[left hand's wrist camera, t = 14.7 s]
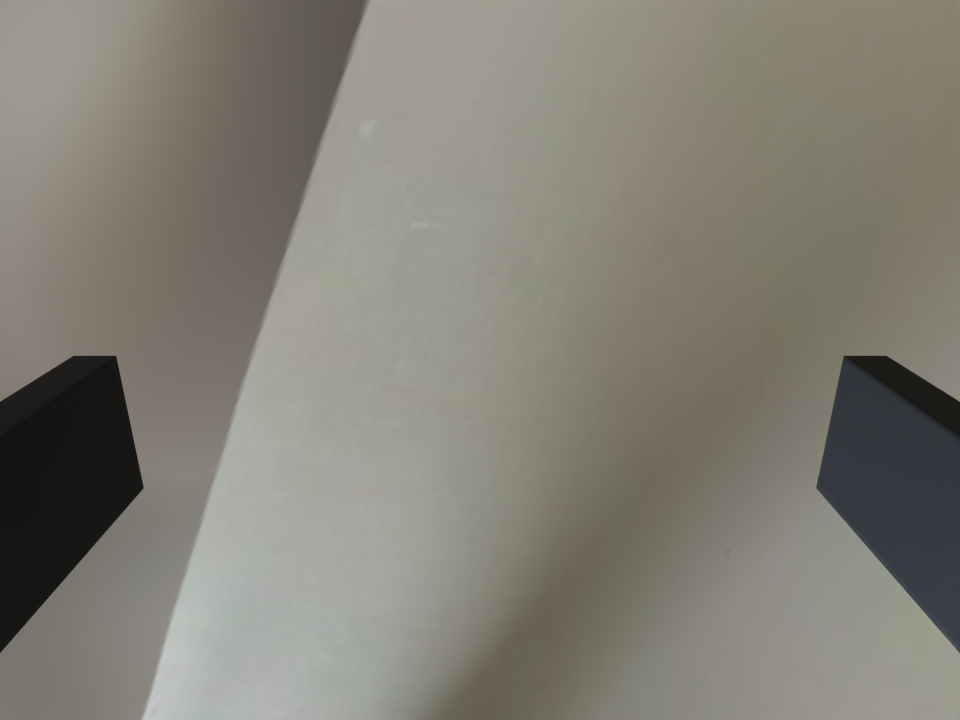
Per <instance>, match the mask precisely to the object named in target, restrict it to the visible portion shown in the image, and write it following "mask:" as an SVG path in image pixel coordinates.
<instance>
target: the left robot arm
mask: <svg viewBox="0 0 960 720" xmlns="http://www.w3.org/2000/svg"><path fill="white" fill-rule="evenodd" d="M816 488H817V489H818V491H819V492H820V493H821V494H822V495H823V496H824V497H825V499H826V500H827V501H828V502H829V503H830V504H831V505H832V507H833V508H834V509H835V510H836V511H837V512H838V514H839V515H840V516H841V517H842V518H843V519H844V520H845V522H846V523H847V524H848V525H849V526H850V527H851V528H852V530H853V531H854V532H855V533H856V534H857V535H858V537H859V538H860V539H861V540H862V541H863V542H864V543H865V545H866V546H867V547H868V548H869V549H870V550H871V551H872V553H873V554H874V555H875V556H876V557H877V558H878V559H879V561H880V562H881V563H882V564H883V565H884V566H885V568H886V569H887V570H888V571H889V572H890V573H891V574H892V576H893V577H894V578H895V579H896V580H897V581H898V582H899V584H900V585H901V586H902V587H903V588H904V589H905V591H906V592H907V593H908V594H909V595H910V596H911V597H912V599H913V600H914V601H915V602H916V603H917V604H918V605H919V607H920V608H921V609H922V610H923V611H924V612H925V613H926V615H927V616H928V617H929V618H930V619H931V620H932V622H933V623H934V624H935V625H936V626H937V627H938V628H939V630H940V631H941V632H942V633H943V634H944V635H945V636H946V638H947V639H948V640H949V641H950V642H951V643H952V645H953V646H954V647H955V648H956V649H957V650H958V651H959V653H960V402H959V401H958V400H956V399H954V398H953V397H951V396H950V395H948V394H946V393H945V392H943V391H942V390H940V389H938V388H937V387H935V386H934V385H932V384H930V383H929V382H927V381H926V380H924V379H922V378H921V377H919V376H918V375H916V374H914V373H913V372H911V371H910V370H908V369H907V368H905V367H903V366H902V365H900V364H899V363H897V362H895V361H894V360H892V359H891V358H889V357H887V356H844V358H843V363H842V368H841V372H840V377H839V382H838V387H837V392H836V396H835V401H834V406H833V411H832V415H831V420H830V425H829V430H828V435H827V439H826V444H825V449H824V454H823V459H822V463H821V468H820V473H819V478H818V483H817V487H816ZM142 489H143V483H142V478H141V473H140V468H139V463H138V459H137V454H136V449H135V444H134V439H133V435H132V430H131V425H130V420H129V416H128V411H127V406H126V401H125V396H124V392H123V387H122V382H121V377H120V372H119V368H118V363H117V358H116V356H73V357H71V358H69V359H68V360H66V361H65V362H63V363H61V364H60V365H58V366H57V367H55V368H53V369H52V370H50V371H49V372H47V373H46V374H44V375H42V376H41V377H39V378H38V379H36V380H34V381H33V382H31V383H30V384H28V385H26V386H25V387H23V388H22V389H20V390H18V391H17V392H15V393H14V394H12V395H10V396H9V397H7V398H6V399H4V400H2V401H1V402H0V652H1V651H2V650H3V649H4V648H5V647H6V646H7V645H8V643H9V642H10V641H11V640H12V639H13V638H14V636H15V635H16V634H17V633H18V632H19V631H20V630H21V628H22V627H23V626H24V625H25V624H26V623H27V621H28V620H29V619H30V618H31V617H32V616H33V615H34V613H35V612H36V611H37V610H38V609H39V608H40V607H41V605H42V604H43V603H44V602H45V601H46V600H47V599H48V597H49V596H50V595H51V594H52V593H53V592H54V590H55V589H56V588H57V587H58V586H59V585H60V584H61V582H62V581H63V580H64V579H65V578H66V577H67V575H68V574H69V573H70V572H71V571H72V570H73V569H74V568H75V566H76V565H77V564H78V563H79V562H80V561H81V559H82V558H83V557H84V556H85V555H86V554H87V553H88V551H89V550H90V549H91V548H92V547H93V546H94V545H95V543H96V542H97V541H98V540H99V539H100V538H101V537H102V535H103V534H104V533H105V532H106V531H107V530H108V528H109V527H110V526H111V525H112V524H113V523H114V522H115V520H116V519H117V518H118V517H119V516H120V515H121V514H122V512H123V511H124V510H125V509H126V508H127V507H128V505H129V504H130V503H131V502H132V501H133V500H134V499H135V497H136V496H137V495H138V494H139V493H140V492H141V490H142Z"/></svg>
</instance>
